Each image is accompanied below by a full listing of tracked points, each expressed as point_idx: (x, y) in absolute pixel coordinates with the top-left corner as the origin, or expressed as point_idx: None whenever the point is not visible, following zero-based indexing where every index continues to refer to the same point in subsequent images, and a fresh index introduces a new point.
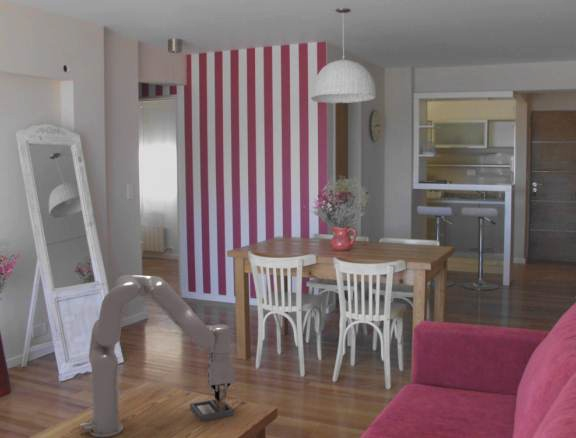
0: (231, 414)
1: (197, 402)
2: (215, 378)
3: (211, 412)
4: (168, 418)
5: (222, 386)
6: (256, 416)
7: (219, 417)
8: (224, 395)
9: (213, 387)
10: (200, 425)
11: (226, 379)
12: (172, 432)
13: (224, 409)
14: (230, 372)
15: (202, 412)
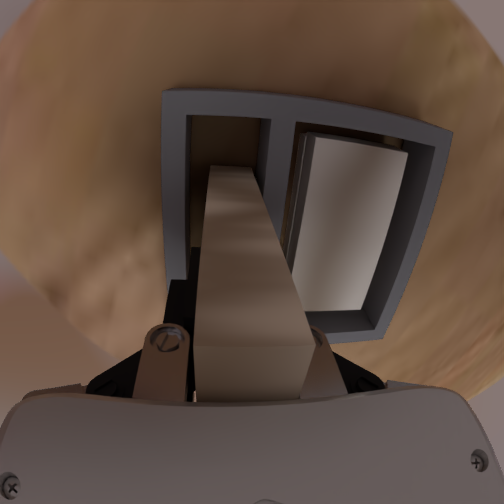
0: (185, 89)
1: (343, 340)
2: (446, 498)
3: (340, 171)
4: (473, 268)
5: (278, 336)
6: (20, 62)
7: (296, 95)
8: (219, 233)
9: (361, 376)
10: (428, 99)
11: (150, 485)
12: None
13: (217, 175)
14: None
15: (392, 204)
